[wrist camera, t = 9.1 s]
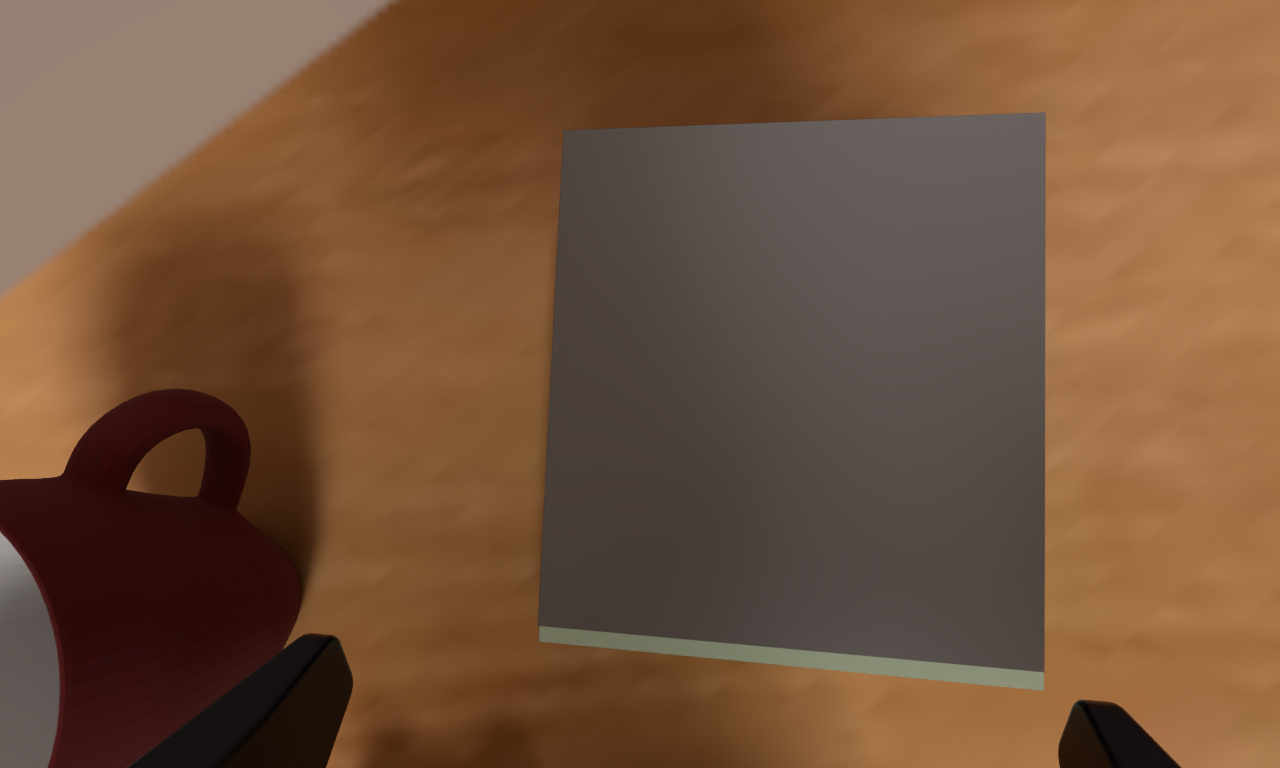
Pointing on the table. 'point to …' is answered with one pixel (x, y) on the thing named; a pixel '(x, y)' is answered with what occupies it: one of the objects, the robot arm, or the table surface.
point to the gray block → (802, 387)
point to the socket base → (798, 658)
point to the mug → (132, 591)
